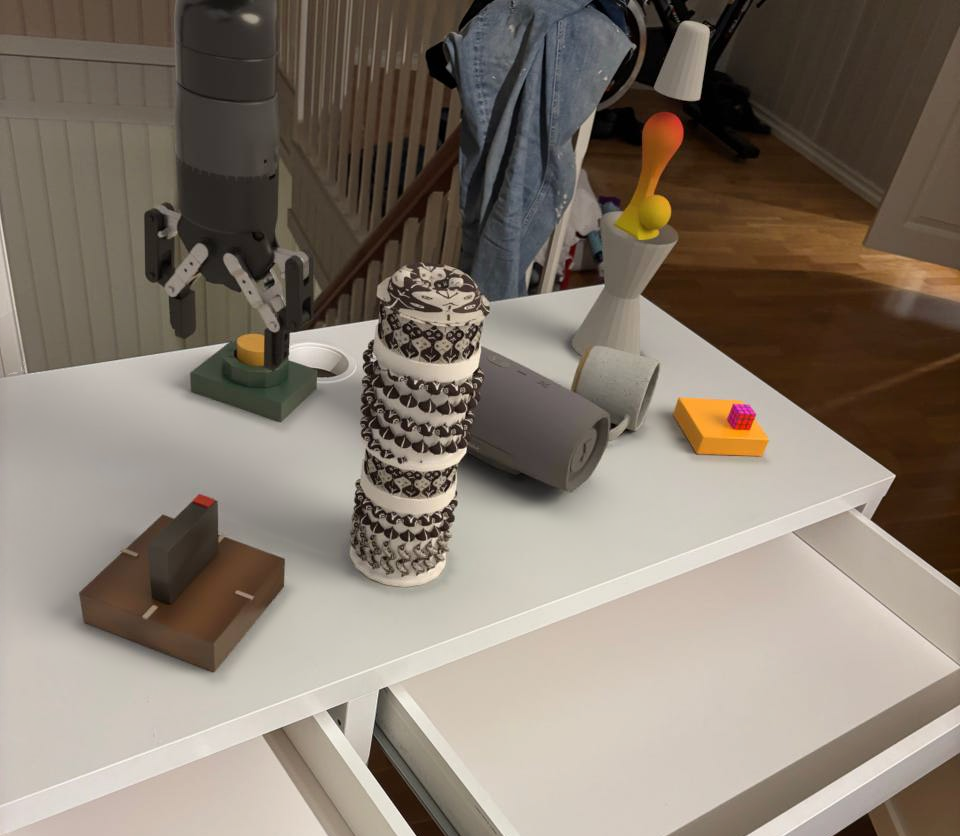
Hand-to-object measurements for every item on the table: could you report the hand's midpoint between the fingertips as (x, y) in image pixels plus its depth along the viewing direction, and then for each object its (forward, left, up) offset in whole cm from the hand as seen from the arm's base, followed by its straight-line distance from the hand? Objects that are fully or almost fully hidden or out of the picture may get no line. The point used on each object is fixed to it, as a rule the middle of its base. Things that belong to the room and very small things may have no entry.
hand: (229, 350), depth 84 cm
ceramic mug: (+30, +28, -11) cm, 42 cm away
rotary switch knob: (+7, -19, -8) cm, 22 cm away
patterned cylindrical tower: (+19, -5, -11) cm, 23 cm away
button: (-4, +12, -7) cm, 14 cm away
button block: (-4, +12, -11) cm, 16 cm away
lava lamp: (+26, +45, -11) cm, 53 cm away
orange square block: (+42, +33, -11) cm, 54 cm away
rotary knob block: (+7, -19, -11) cm, 23 cm away
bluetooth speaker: (+20, +15, -11) cm, 27 cm away
